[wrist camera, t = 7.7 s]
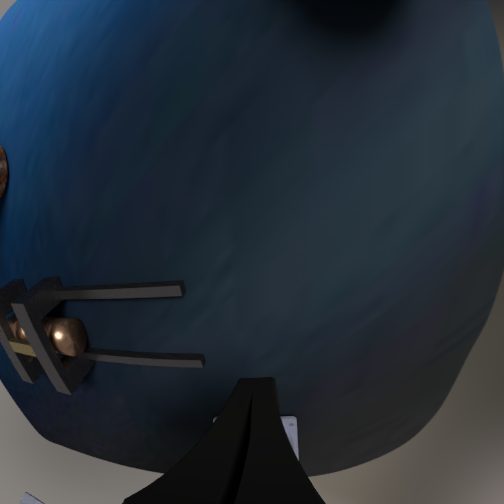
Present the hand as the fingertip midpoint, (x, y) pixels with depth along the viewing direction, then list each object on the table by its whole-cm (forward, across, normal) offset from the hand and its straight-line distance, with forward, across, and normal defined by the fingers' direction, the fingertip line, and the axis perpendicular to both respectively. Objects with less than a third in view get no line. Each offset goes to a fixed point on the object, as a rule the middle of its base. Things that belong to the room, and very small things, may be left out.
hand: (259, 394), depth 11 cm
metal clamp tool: (+9, +16, +3) cm, 19 cm away
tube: (+9, +22, +2) cm, 24 cm away
